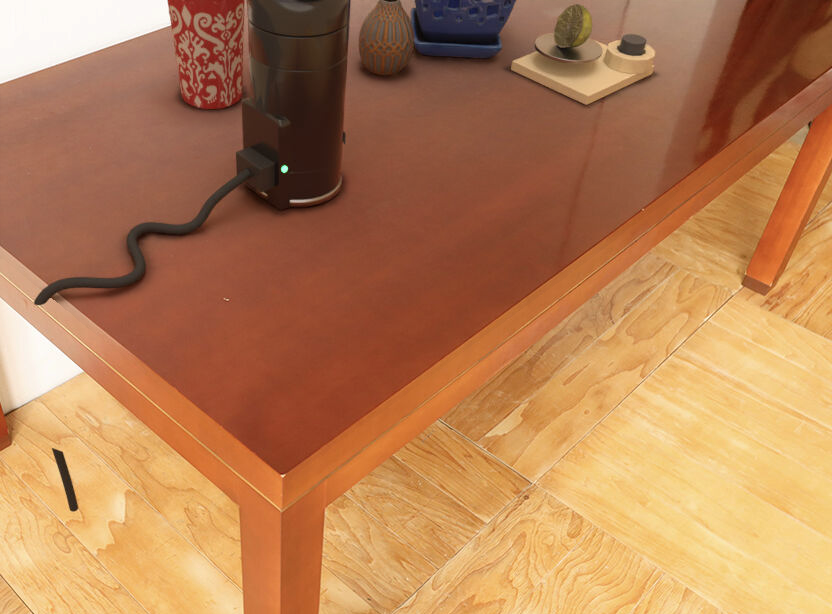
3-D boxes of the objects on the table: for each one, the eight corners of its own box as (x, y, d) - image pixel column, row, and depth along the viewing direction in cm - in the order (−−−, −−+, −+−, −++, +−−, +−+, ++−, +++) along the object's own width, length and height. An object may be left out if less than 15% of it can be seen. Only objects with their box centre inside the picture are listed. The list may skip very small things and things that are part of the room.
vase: (411, 59, 111) (419, -11, 105) (410, 83, 106) (418, 11, 100) (358, 55, 111) (363, -15, 105) (355, 79, 106) (359, 7, 100)
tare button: (633, 59, 107) (637, 46, 105) (613, 51, 108) (617, 37, 107) (647, 53, 108) (651, 39, 107) (627, 45, 110) (631, 31, 108)
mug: (228, 120, 98) (223, 0, 88) (160, 103, 100) (147, -16, 91) (275, 76, 106) (274, -39, 97) (210, 61, 108) (203, -52, 99)
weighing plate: (574, 69, 103) (575, 66, 103) (520, 46, 108) (521, 43, 107) (615, 52, 107) (616, 48, 107) (562, 29, 112) (562, 26, 111)
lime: (578, 57, 105) (589, 16, 101) (543, 46, 107) (552, 5, 103) (593, 45, 107) (604, 5, 104) (558, 35, 109) (567, -5, 106)
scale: (589, 106, 103) (595, 83, 101) (510, 69, 110) (514, 46, 107) (657, 74, 110) (664, 51, 108) (579, 41, 116) (584, 19, 114)
